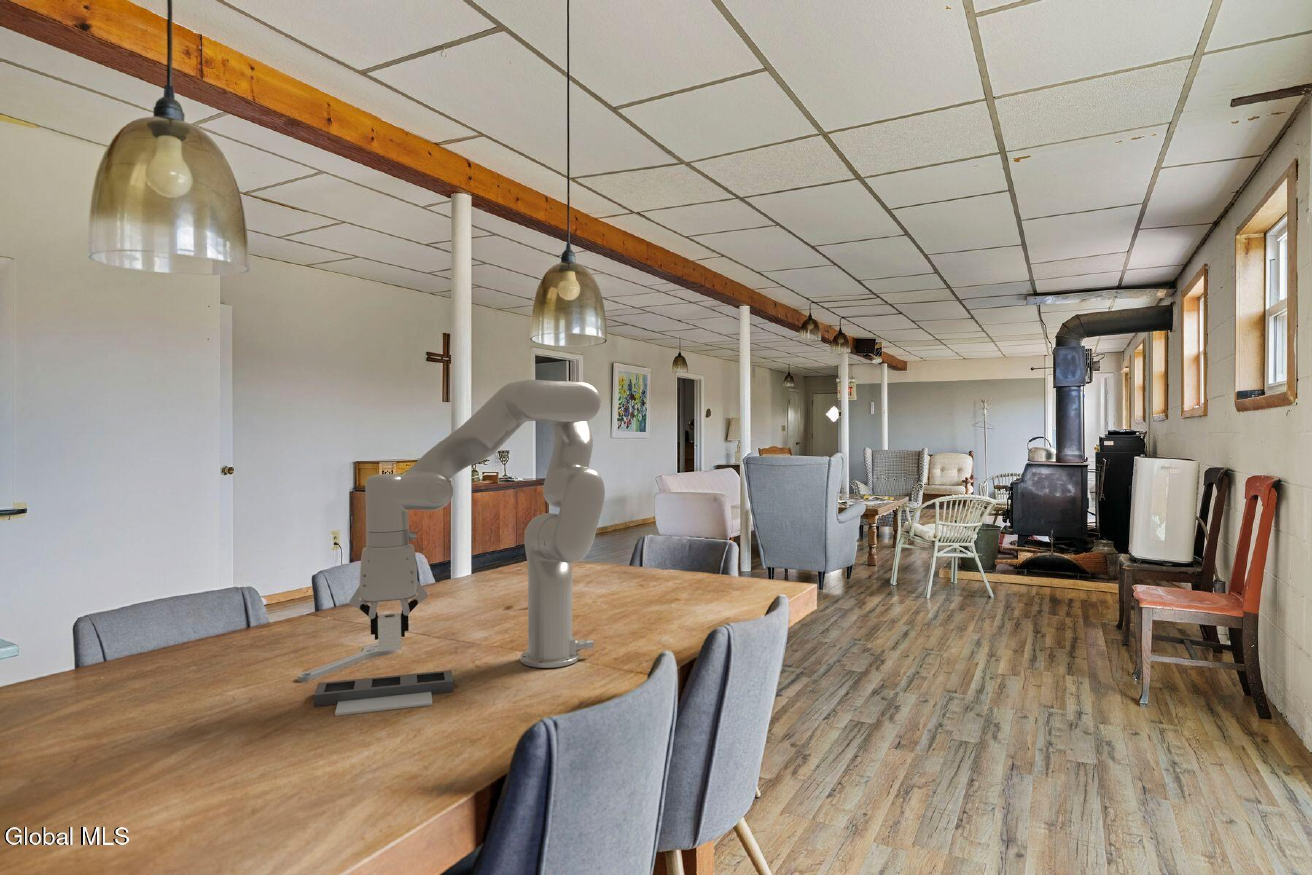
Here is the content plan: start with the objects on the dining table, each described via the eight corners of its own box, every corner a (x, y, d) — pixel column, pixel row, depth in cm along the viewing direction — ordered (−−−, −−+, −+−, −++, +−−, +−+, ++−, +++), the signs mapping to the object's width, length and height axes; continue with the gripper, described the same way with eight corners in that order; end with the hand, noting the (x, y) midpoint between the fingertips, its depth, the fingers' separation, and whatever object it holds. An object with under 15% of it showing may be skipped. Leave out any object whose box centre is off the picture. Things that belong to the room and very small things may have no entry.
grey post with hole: (401, 643, 139) (400, 611, 139) (401, 649, 135) (400, 616, 135) (379, 645, 137) (378, 613, 137) (378, 651, 133) (377, 618, 134)
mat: (431, 693, 135) (431, 691, 135) (432, 704, 129) (432, 702, 129) (338, 703, 130) (338, 701, 130) (334, 715, 124) (334, 713, 124)
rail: (451, 679, 143) (451, 669, 143) (453, 691, 136) (453, 680, 136) (318, 693, 135) (318, 682, 135) (313, 706, 128) (313, 695, 128)
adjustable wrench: (304, 685, 141) (304, 676, 141) (282, 680, 144) (282, 672, 144) (401, 651, 163) (401, 643, 163) (380, 648, 166) (380, 640, 166)
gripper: (433, 534, 142) (435, 626, 142) (341, 539, 137) (343, 636, 137) (435, 539, 135) (437, 636, 135) (337, 545, 130) (340, 647, 130)
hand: (390, 635), depth 136 cm, fingers closed on grey post with hole, 4 cm apart
